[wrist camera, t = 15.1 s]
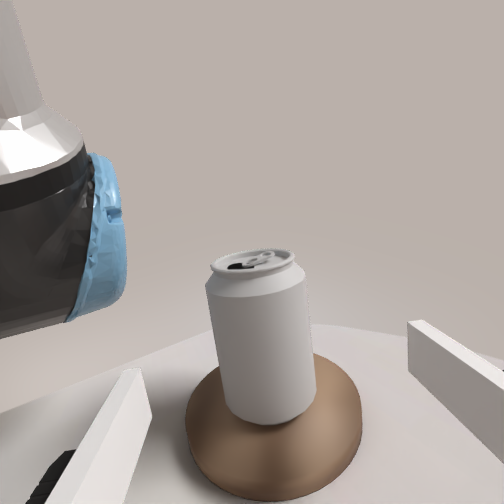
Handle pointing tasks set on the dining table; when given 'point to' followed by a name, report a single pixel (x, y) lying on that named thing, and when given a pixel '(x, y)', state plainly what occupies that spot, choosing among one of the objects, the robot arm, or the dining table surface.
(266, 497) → the walnut coaster
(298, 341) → the can
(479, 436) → the robot arm
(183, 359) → the dining table surface
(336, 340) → the dining table surface
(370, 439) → the dining table surface
